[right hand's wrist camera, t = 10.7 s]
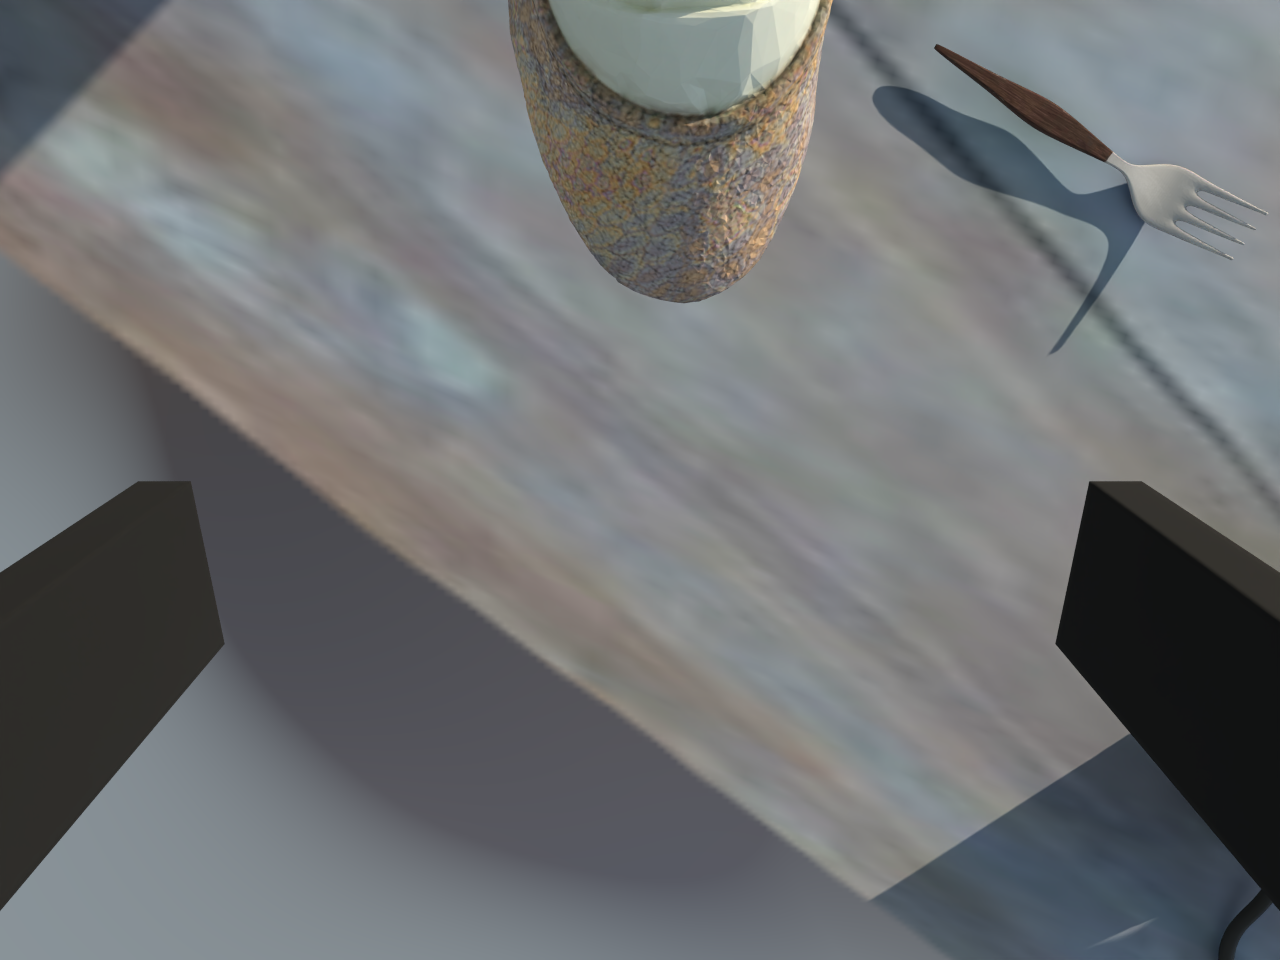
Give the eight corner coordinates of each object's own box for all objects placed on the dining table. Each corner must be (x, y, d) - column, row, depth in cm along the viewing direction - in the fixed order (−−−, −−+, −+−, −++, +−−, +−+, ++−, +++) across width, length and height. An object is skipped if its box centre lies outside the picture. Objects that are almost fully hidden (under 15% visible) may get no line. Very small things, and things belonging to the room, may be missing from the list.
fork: (949, 15, 35) (967, 8, 33) (1241, 206, 38) (1272, 209, 36) (913, 77, 36) (928, 73, 34) (1201, 258, 39) (1230, 264, 37)
